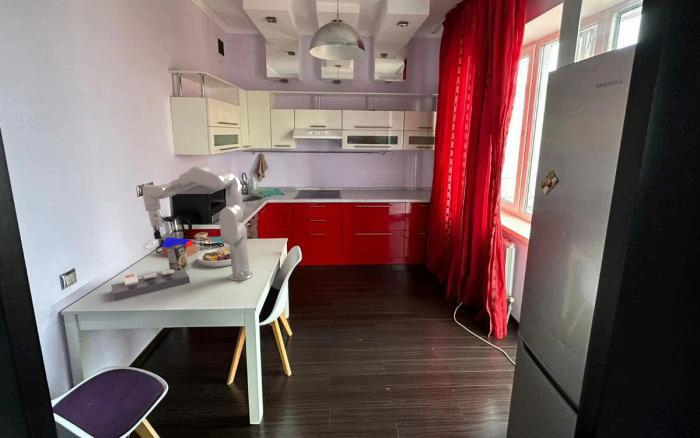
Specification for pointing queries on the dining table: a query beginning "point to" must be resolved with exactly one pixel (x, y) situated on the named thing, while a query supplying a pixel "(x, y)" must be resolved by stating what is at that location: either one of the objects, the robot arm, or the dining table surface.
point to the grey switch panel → (150, 285)
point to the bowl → (215, 257)
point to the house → (171, 242)
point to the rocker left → (130, 280)
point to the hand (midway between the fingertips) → (157, 238)
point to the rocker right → (167, 272)
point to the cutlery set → (216, 240)
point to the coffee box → (177, 257)
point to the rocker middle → (149, 276)
